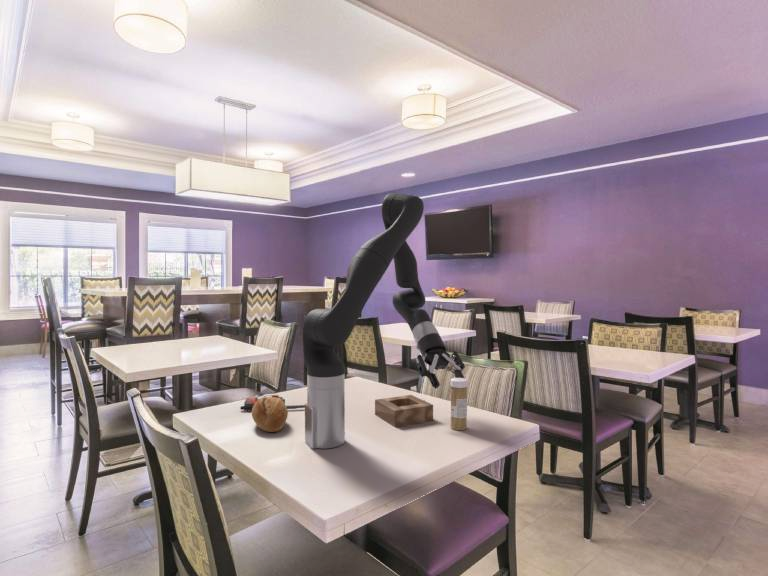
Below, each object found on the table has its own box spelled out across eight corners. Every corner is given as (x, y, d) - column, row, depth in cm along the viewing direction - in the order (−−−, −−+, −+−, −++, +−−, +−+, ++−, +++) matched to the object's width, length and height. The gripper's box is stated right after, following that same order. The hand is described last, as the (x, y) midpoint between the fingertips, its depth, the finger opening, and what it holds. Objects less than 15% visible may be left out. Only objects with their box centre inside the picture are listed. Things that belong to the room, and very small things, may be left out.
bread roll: (254, 437, 115) (254, 407, 115) (249, 420, 129) (249, 393, 128) (291, 433, 118) (291, 403, 118) (283, 417, 132) (283, 390, 132)
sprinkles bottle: (448, 425, 124) (448, 377, 123) (464, 425, 124) (464, 377, 124) (452, 431, 119) (452, 381, 119) (469, 430, 120) (469, 380, 119)
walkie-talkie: (238, 414, 135) (305, 411, 138) (238, 400, 135) (305, 397, 138) (243, 406, 144) (306, 404, 147) (243, 393, 144) (306, 390, 147)
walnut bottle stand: (394, 426, 123) (394, 410, 123) (375, 414, 134) (374, 399, 134) (433, 420, 128) (433, 404, 128) (411, 409, 140) (411, 394, 139)
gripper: (412, 333, 130) (434, 380, 120) (452, 330, 136) (476, 375, 126) (403, 349, 134) (423, 395, 124) (442, 345, 141) (465, 389, 131)
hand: (450, 385), depth 125 cm, fingers open, 8 cm apart
